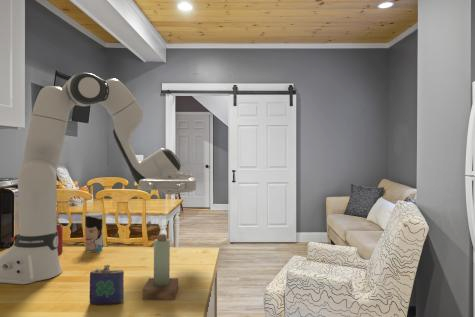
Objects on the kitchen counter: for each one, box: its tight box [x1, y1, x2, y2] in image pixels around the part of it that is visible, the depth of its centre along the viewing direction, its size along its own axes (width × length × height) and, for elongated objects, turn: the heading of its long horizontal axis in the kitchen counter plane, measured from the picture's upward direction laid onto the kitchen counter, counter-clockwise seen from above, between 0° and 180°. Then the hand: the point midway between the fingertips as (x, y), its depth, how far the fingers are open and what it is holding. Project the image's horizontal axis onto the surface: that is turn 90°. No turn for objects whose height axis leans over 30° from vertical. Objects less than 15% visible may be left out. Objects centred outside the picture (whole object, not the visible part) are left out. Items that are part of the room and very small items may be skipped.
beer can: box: [56, 222, 63, 255], centre depth 149 cm, size 7×7×12 cm
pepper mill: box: [153, 233, 171, 287], centre depth 110 cm, size 5×5×15 cm
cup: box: [84, 212, 104, 252], centre depth 155 cm, size 7×7×15 cm
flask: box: [89, 264, 125, 306], centre depth 103 cm, size 9×3×11 cm, turn 95°
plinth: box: [142, 277, 180, 301], centre depth 111 cm, size 9×9×3 cm
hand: (164, 186), depth 127 cm, fingers open, 8 cm apart
